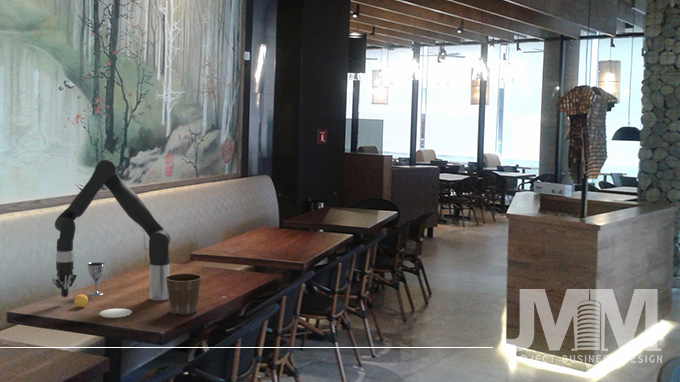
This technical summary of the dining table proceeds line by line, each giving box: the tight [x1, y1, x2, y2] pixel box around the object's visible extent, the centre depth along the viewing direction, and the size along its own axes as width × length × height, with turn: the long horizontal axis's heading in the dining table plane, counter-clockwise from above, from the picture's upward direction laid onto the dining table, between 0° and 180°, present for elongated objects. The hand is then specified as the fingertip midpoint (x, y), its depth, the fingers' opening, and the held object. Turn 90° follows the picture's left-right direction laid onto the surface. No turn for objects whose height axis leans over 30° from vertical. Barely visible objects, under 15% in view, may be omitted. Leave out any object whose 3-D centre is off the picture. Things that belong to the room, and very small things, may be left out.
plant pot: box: [165, 273, 203, 316], centre depth 320 cm, size 16×16×16 cm
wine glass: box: [87, 261, 106, 297], centre depth 347 cm, size 8×8×15 cm
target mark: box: [99, 308, 133, 318], centre depth 315 cm, size 14×14×1 cm
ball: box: [73, 293, 89, 308], centre depth 323 cm, size 6×6×6 cm
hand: (64, 296), depth 327 cm, fingers closed
